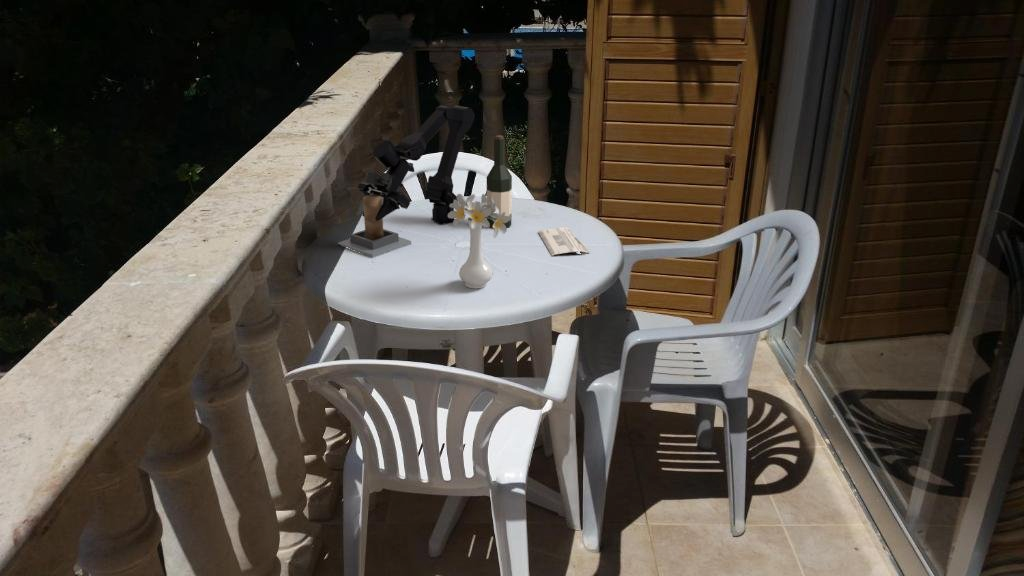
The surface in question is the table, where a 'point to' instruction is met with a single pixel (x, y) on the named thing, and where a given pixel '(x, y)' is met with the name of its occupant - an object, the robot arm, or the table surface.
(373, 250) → the collar
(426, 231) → the table surface
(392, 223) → the table surface
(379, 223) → the peg
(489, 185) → the wine bottle
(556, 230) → the newspaper
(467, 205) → the flower vase
